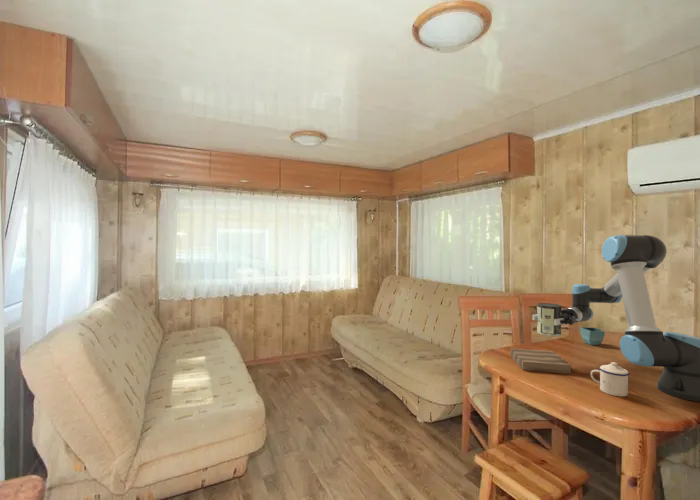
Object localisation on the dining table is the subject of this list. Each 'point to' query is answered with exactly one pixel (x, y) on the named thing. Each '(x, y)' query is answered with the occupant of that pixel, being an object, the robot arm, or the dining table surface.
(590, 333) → the flower pot
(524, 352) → the walnut block
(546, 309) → the coffee can
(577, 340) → the dining table surface
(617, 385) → the teacup with lid
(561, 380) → the dining table surface
